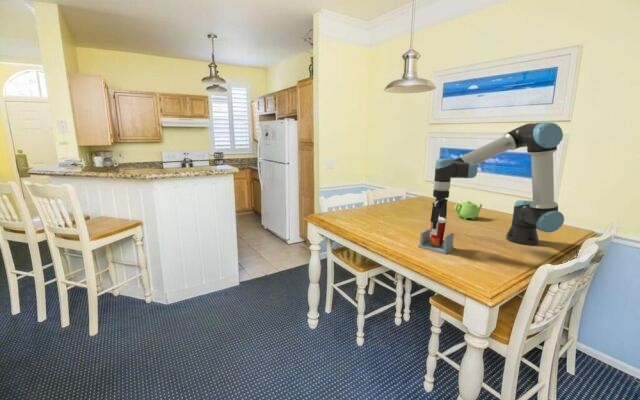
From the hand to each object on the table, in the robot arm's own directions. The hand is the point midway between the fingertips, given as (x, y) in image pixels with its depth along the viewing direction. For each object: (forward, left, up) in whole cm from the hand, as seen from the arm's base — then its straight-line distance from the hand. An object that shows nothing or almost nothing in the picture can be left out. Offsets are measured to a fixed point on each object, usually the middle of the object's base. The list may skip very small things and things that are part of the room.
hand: (437, 232), depth 155 cm
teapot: (+7, -75, -8) cm, 76 cm away
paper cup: (0, 0, -6) cm, 6 cm away
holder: (0, 0, -8) cm, 8 cm away
